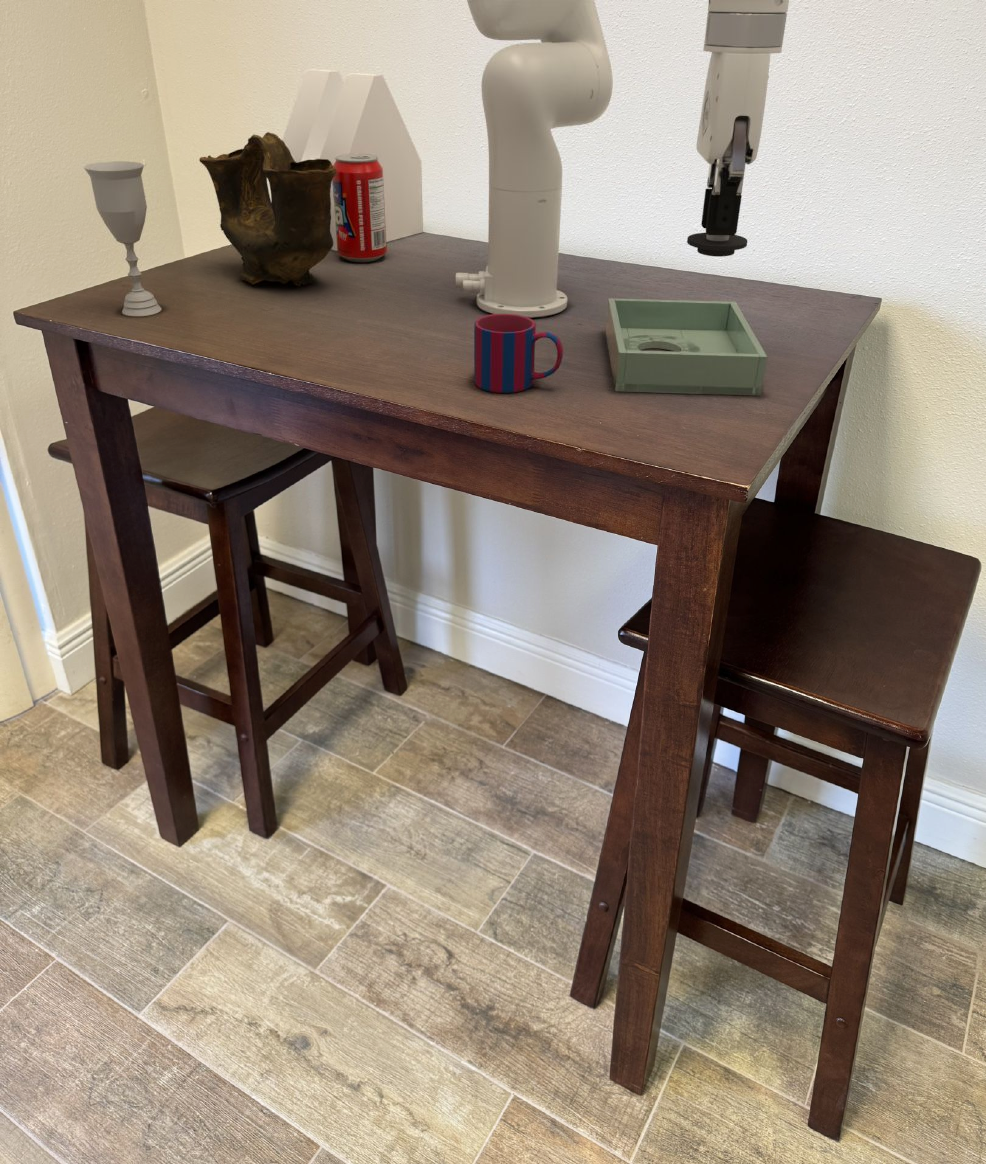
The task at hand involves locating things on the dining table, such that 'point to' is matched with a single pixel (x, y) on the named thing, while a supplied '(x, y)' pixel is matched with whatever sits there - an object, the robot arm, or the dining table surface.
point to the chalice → (124, 220)
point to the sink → (684, 366)
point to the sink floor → (679, 349)
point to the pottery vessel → (274, 209)
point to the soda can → (359, 207)
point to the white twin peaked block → (359, 139)
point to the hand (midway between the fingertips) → (718, 229)
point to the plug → (716, 243)
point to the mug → (508, 353)
